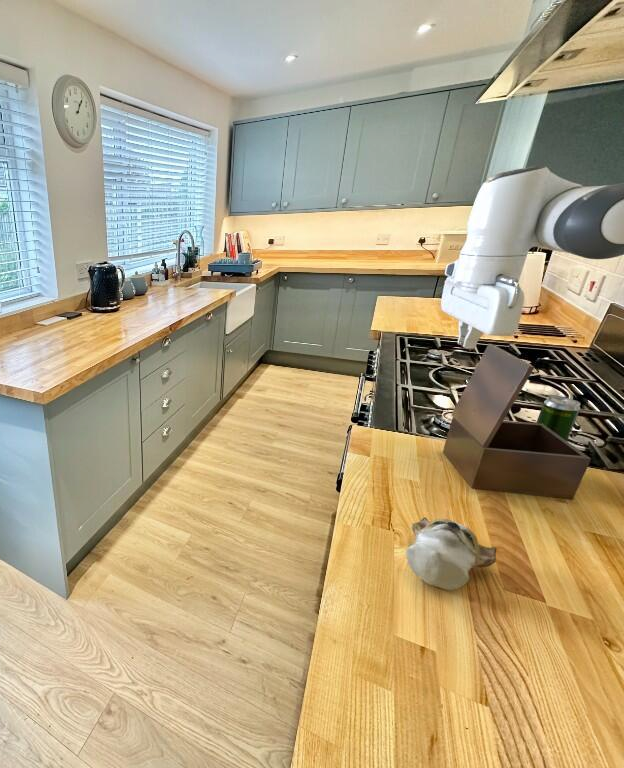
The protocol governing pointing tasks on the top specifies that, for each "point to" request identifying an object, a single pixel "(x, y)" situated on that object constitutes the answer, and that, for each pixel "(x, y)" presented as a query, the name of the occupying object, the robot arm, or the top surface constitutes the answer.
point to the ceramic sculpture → (446, 553)
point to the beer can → (559, 415)
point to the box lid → (491, 393)
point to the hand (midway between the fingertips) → (465, 346)
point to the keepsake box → (518, 460)
